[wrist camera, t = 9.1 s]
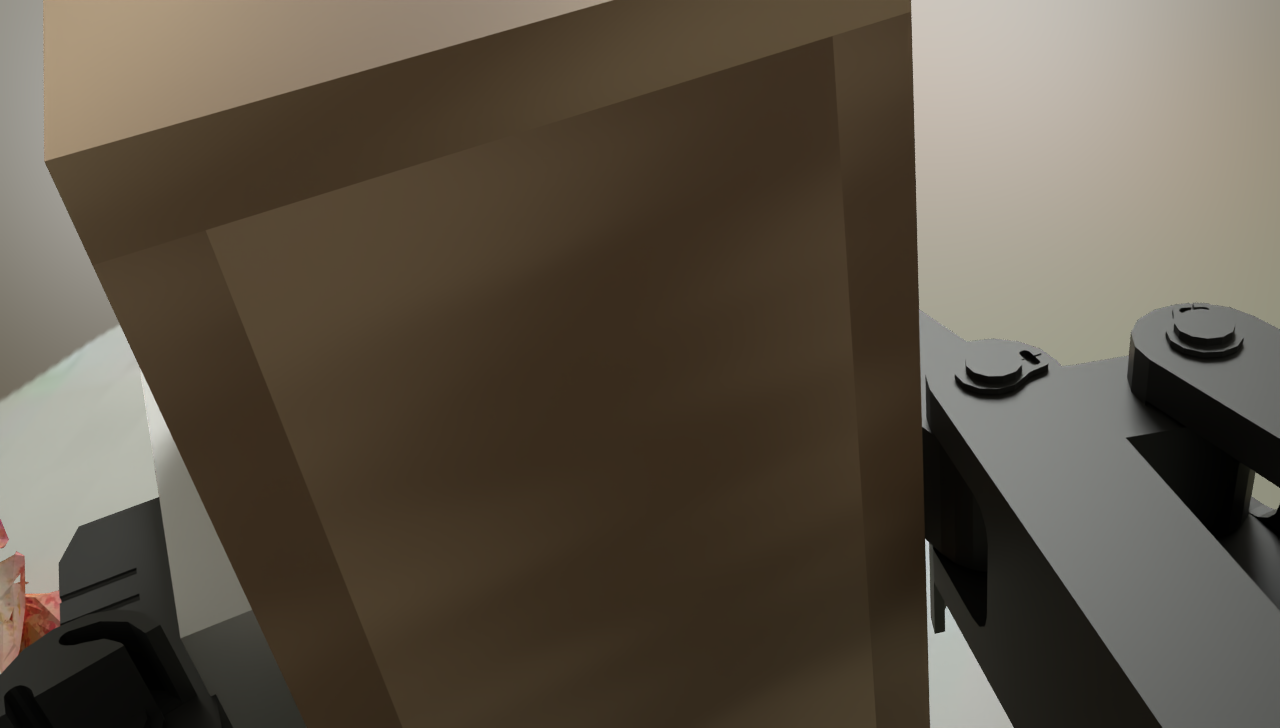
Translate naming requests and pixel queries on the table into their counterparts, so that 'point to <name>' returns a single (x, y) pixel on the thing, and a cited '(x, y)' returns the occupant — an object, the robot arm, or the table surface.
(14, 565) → the flower
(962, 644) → the table surface
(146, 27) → the brown wooden block
